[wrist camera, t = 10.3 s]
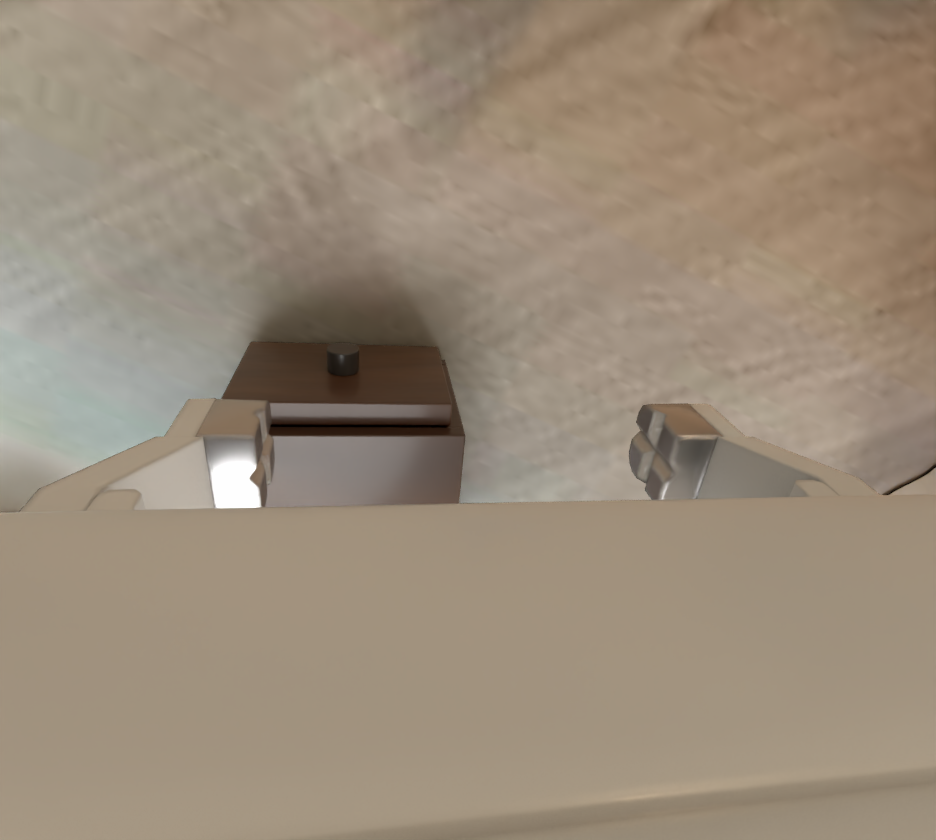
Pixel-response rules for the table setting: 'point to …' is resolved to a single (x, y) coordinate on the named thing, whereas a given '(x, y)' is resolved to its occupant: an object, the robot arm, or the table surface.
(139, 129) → the table surface
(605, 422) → the table surface
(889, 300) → the table surface
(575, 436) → the table surface
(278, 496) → the cabinet
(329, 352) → the drawer
